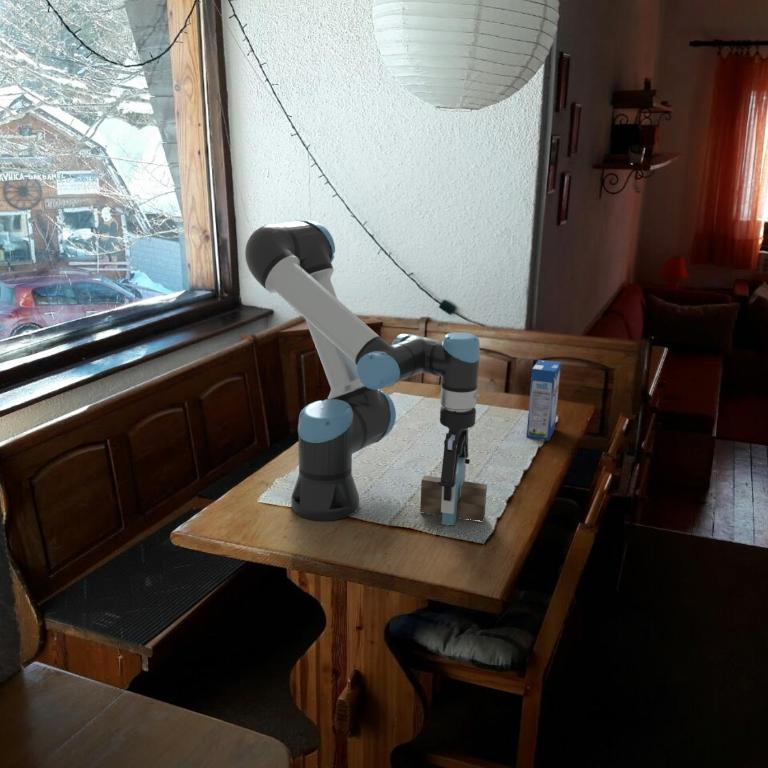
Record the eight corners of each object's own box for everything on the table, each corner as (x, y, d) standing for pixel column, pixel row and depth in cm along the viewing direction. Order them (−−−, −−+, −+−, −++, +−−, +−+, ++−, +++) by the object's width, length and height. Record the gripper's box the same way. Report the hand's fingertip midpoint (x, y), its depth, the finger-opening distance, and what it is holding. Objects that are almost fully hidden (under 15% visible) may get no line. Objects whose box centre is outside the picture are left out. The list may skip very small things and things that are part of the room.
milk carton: (548, 440, 221) (555, 371, 215) (526, 437, 223) (532, 368, 217) (554, 429, 230) (561, 362, 224) (533, 425, 232) (538, 359, 226)
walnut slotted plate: (420, 512, 178) (421, 479, 175) (422, 508, 180) (424, 475, 177) (482, 522, 174) (484, 489, 171) (484, 517, 176) (486, 484, 174)
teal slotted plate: (453, 526, 172) (456, 474, 168) (441, 524, 173) (444, 473, 169) (462, 506, 181) (465, 457, 177) (451, 504, 182) (454, 455, 178)
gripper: (465, 426, 158) (459, 527, 164) (485, 392, 178) (479, 483, 185) (427, 422, 160) (423, 521, 166) (452, 388, 181) (447, 478, 187)
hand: (452, 501), depth 176 cm, fingers open, 10 cm apart
